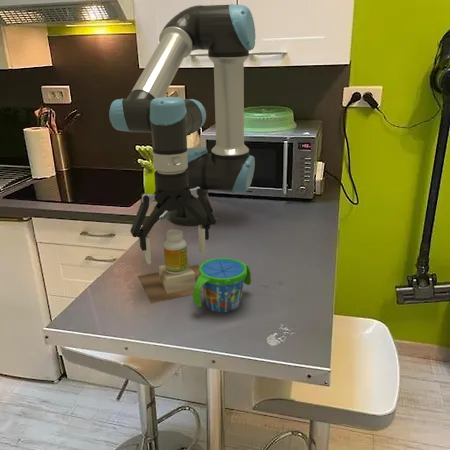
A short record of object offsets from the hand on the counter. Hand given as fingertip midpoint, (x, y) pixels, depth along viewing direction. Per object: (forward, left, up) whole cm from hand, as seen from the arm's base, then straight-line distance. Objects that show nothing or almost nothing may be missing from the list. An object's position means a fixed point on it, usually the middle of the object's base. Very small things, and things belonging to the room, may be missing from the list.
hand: (175, 257), depth 115 cm
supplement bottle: (0, 0, -4) cm, 4 cm away
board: (-1, 0, -9) cm, 9 cm away
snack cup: (+12, +7, -9) cm, 17 cm away
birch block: (0, 0, -7) cm, 7 cm away
